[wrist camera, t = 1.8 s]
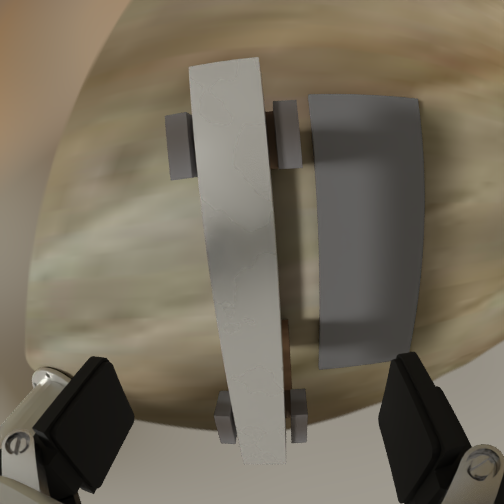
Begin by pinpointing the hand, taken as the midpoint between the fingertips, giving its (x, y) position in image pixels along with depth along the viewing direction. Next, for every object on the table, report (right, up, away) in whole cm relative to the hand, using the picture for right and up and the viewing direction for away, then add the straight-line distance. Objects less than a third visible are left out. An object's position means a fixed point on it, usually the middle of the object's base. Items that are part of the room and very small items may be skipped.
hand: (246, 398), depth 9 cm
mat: (+11, +6, +17) cm, 21 cm away
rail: (0, +2, +8) cm, 8 cm away
